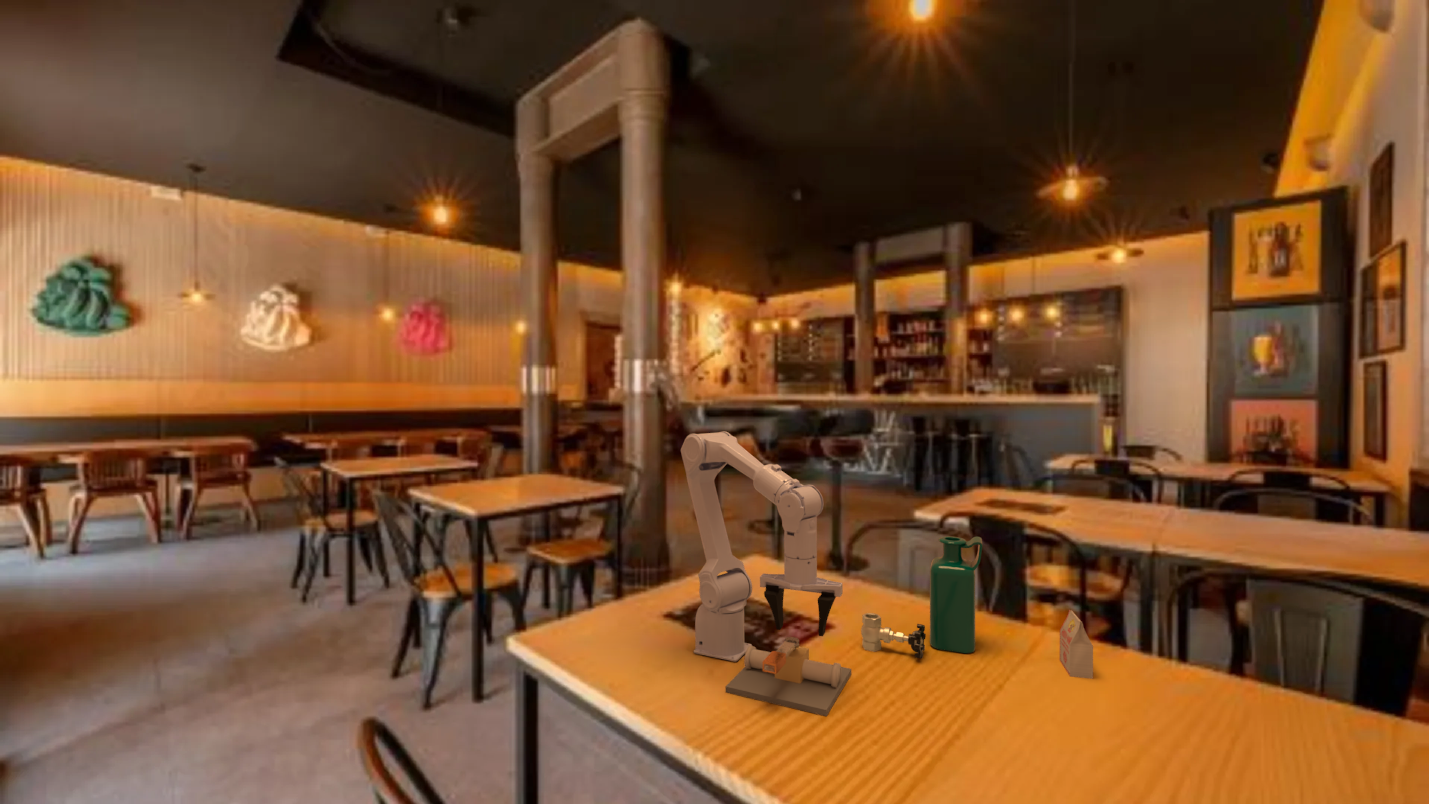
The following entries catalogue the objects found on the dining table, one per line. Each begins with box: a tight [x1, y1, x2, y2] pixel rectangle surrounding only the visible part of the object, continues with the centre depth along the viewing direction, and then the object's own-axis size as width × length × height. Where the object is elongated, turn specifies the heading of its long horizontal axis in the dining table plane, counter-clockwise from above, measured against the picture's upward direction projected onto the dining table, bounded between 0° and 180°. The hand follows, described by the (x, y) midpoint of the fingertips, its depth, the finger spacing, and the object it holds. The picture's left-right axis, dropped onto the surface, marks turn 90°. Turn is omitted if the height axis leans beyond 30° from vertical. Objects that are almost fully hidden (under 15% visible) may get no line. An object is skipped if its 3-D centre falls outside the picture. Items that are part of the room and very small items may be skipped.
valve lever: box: [763, 636, 800, 674], centre depth 106 cm, size 12×3×2 cm, turn 153°
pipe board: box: [725, 645, 852, 717], centre depth 109 cm, size 18×16×5 cm
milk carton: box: [1059, 609, 1094, 680], centre depth 114 cm, size 4×7×10 cm, turn 165°
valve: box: [860, 612, 926, 659], centre depth 122 cm, size 7×7×12 cm
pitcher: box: [929, 535, 983, 654], centre depth 125 cm, size 10×8×22 cm
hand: (800, 630), depth 109 cm, fingers open, 7 cm apart
